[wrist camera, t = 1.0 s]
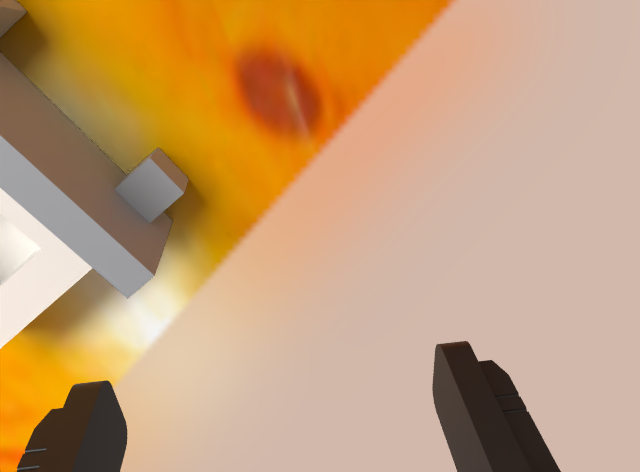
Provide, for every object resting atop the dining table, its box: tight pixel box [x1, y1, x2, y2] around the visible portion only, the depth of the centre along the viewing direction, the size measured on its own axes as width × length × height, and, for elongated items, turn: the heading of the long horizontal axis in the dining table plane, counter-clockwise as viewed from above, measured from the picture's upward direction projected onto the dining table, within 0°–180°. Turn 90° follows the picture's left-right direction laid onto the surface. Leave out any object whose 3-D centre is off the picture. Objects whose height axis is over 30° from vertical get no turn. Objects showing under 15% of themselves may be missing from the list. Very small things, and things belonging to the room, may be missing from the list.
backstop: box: [0, 0, 189, 298], centre depth 30 cm, size 20×5×10 cm, turn 39°
